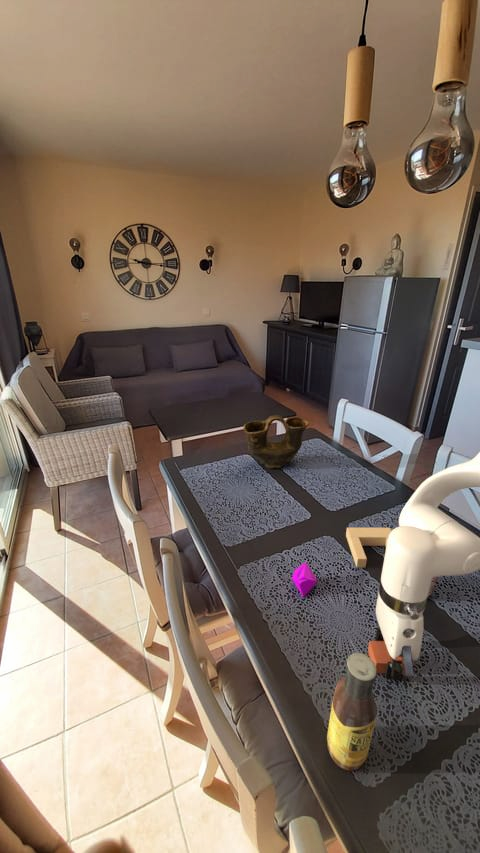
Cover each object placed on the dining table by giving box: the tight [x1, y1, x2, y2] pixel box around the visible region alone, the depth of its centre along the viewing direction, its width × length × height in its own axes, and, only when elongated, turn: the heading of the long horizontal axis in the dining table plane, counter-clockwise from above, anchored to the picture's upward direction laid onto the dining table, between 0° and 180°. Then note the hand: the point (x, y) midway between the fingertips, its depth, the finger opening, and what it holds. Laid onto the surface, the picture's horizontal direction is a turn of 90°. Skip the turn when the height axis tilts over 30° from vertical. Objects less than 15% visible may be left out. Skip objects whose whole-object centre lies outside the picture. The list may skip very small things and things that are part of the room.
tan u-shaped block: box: [345, 527, 392, 569], centre depth 97 cm, size 12×12×3 cm
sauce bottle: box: [326, 652, 378, 772], centre depth 54 cm, size 6×6×20 cm
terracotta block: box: [367, 640, 402, 675], centre depth 69 cm, size 6×4×3 cm
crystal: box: [291, 561, 318, 598], centre depth 86 cm, size 5×5×5 cm
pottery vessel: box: [242, 414, 310, 469], centre depth 138 cm, size 25×11×20 cm, turn 97°
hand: (388, 659), depth 70 cm, fingers open, 5 cm apart
